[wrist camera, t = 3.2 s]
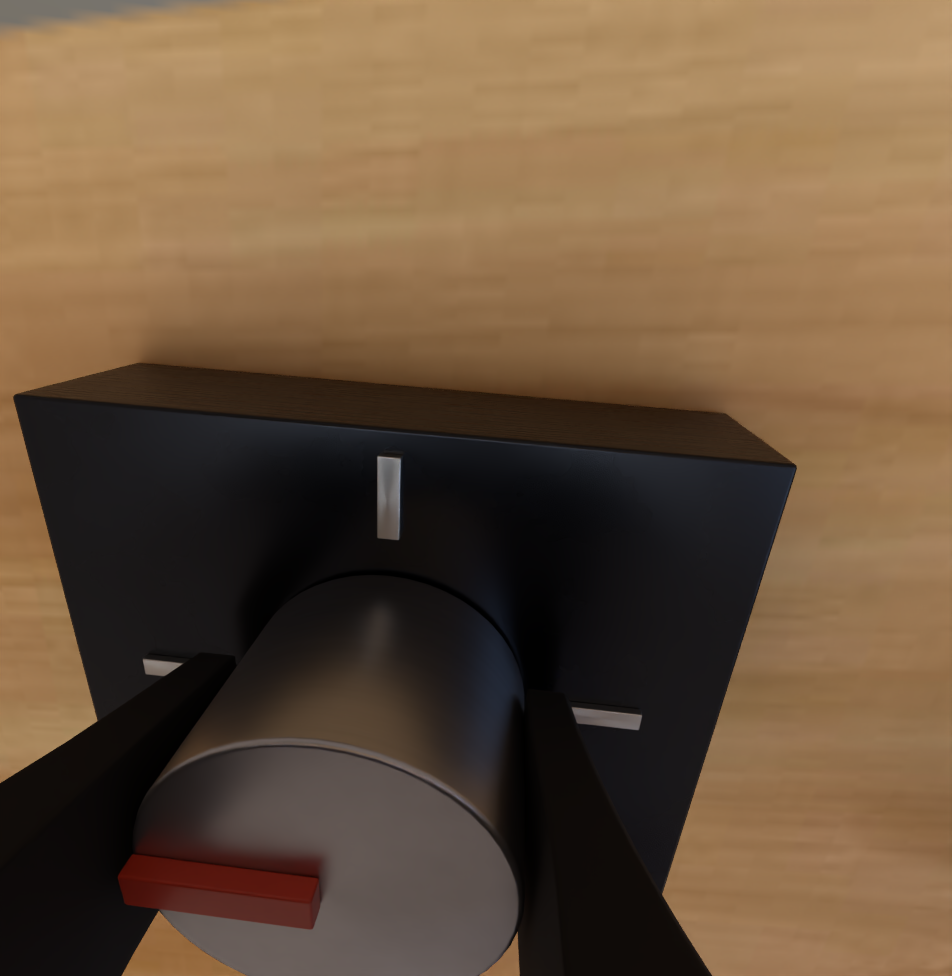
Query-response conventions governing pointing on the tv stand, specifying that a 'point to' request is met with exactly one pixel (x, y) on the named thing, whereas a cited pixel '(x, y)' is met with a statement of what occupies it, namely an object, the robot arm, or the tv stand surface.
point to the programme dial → (348, 794)
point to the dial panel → (420, 539)
